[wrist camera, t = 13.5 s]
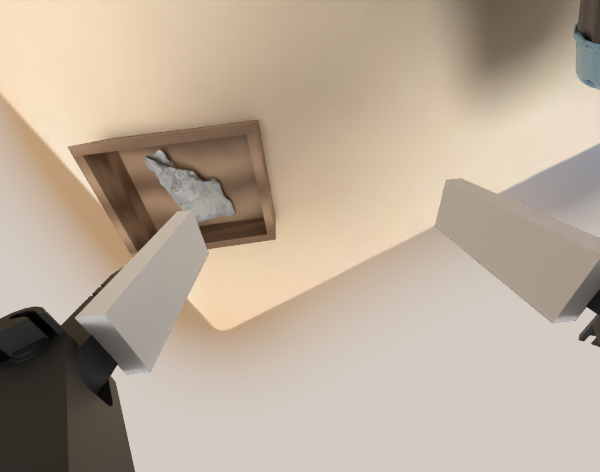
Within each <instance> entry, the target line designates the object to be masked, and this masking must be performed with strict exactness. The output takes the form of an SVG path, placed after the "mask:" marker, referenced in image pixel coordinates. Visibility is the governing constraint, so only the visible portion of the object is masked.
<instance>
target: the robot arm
mask: <svg viewBox="0 0 600 472" xmlns="http://www.w3.org/2000/svg"><path fill="white" fill-rule="evenodd" d="M574 38H575V39H576V73H577V76H578V78H579V79H580V80H581V81H582V82H583V83H584V84H586V85H588V86H589V87H592V88H597V89H599V90H600V0H580V9H579V19H578V23H577V24H576V25H575V28H574ZM435 227H436V228H437V229H438V230H439V231H441V232H442V233H443V234H444V235H445V236H447V237H448V238H449V239H450V240H451V241H453V242H454V243H455V244H456V245H458V246H459V247H460V248H461V249H463V250H464V251H465V252H466V253H467V254H469V255H470V256H471V257H472V258H473V259H475V260H476V261H477V262H478V263H479V264H481V265H482V266H483V267H484V268H486V269H487V270H488V271H489V272H490V273H492V274H493V275H494V276H495V277H496V278H498V279H499V280H500V281H501V282H503V283H504V284H505V285H506V286H508V287H509V288H510V289H511V290H512V291H514V292H515V293H516V294H517V295H519V296H520V297H521V298H522V299H523V300H524V301H526V302H527V303H528V304H529V305H531V306H532V307H533V308H534V309H536V310H537V311H538V312H539V313H540V314H541V315H543V316H544V317H545V318H546V319H548V320H549V321H550V322H551V323H560V322H568V321H576V320H577V318H578V317H579V316H580V314H581V313H582V312H583V311H584V310H585V308H586V307H588V308H589V309H591V310H592V311H594V312H595V313H597V315H596V316H595V318H594V319H593V320H592V321H591V322H590V323H589V325H588V326H587V327H586V328H585V329H584V330H583V331H582V333H581V334H580V335H579V340H581V341H585V339H587V337H588V336H590V335H592V336H596V339H595V340H594V341H593V342H592V343H591V344H593V345H596V346H599V347H600V238H598V237H596V236H594V235H591V234H589V233H587V232H585V231H582V230H580V229H578V228H575V227H573V226H571V225H568V224H566V223H564V222H561V221H559V220H557V219H554V218H552V217H549V216H547V215H545V214H543V213H540V212H538V211H536V210H533V209H531V208H529V207H526V206H524V205H521V204H519V203H517V202H514V201H512V200H510V199H508V198H505V197H503V196H500V195H498V194H496V193H494V192H491V191H489V190H487V189H484V188H482V187H480V186H477V185H475V184H473V183H470V182H468V181H466V180H463V179H461V178H459V179H450V180H446V182H445V186H444V190H443V194H442V198H441V203H440V207H439V211H438V215H437V219H436V223H435ZM208 254H209V253H208V250H207V248H206V245H205V242H204V240H203V237H202V234H201V232H200V229H199V226H198V224H197V221H196V218H195V216H194V213H193V210H186V211H177V212H176V213H175V214H174V215H173V217H172V218H171V219H170V220H169V221H168V222H167V223H166V224H165V225H164V226H163V227H162V228H161V229H160V230H159V231H158V232H157V233H156V234H155V235H154V236H153V237H152V238H151V239H150V240H149V241H148V242H147V243H146V245H145V246H144V247H143V248H142V249H141V250H140V251H139V252H138V253H137V254H136V255H135V256H134V257H133V258H132V259H131V260H130V261H129V262H128V263H127V264H126V265H125V266H124V267H123V268H121V269H120V270H118V271H117V272H115V273H114V274H112V275H111V276H110V277H109V278H108V279H107V280H106V281H105V282H104V283H103V284H102V285H101V287H99V288H98V289H97V290H96V291H95V292H94V293H93V296H90V297H89V298H88V299H87V300H86V301H85V302H84V303H83V304H82V305H81V306H80V307H79V308H78V309H77V310H76V311H75V312H74V313H73V314H72V315H71V316H70V317H69V318H68V319H67V320H66V321H65V322H64V323H63V324H62V325H61V326H60V325H59V324H58V323H57V322H56V321H55V320H54V319H53V318H52V317H51V316H50V315H49V314H48V313H47V312H46V311H45V310H44V309H43V308H42V307H30V308H25V309H22V310H19V311H16V312H14V313H11V314H9V315H7V316H5V317H3V318H1V319H0V472H135V470H134V466H133V461H132V456H131V451H130V447H129V442H128V437H127V433H126V428H125V424H124V419H123V414H122V410H121V405H120V400H119V396H118V391H117V387H116V383H115V381H114V379H113V378H112V377H111V374H112V372H113V371H114V369H115V368H116V366H117V365H118V366H119V367H120V368H121V369H122V370H123V371H124V372H125V373H126V374H127V375H130V374H139V373H146V372H151V370H152V368H153V366H154V364H155V362H156V360H157V358H158V356H159V354H160V352H161V350H162V347H163V346H164V344H165V342H166V340H167V338H168V335H169V333H170V331H171V329H172V327H173V325H174V323H175V321H176V319H177V317H178V315H179V313H180V311H181V309H182V307H183V305H184V303H185V301H186V299H187V297H188V295H189V293H190V291H191V289H192V287H193V285H194V283H195V280H196V278H197V276H198V274H199V272H200V270H201V268H202V266H203V264H204V262H205V260H206V258H207V256H208Z"/></svg>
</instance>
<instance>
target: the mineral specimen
mask: <svg viewBox="0 0 600 472" xmlns="http://www.w3.org/2000/svg"><path fill="white" fill-rule="evenodd" d="M144 161H145V164H146V166H147V167H148V168H149V169H150V170H151V171H152V172H154V173H155V174H156V176H157V178H158V179H159V181H160V184H161V185H163V186H164V187H165V189H166V190H167V191H168V193H169V194H170V195H171V197H172V198H173V199H174V202H175V204H178V206H179V207H180V208H181V210H182V211H186V210H193V213H194V216H195V218H196V221H197V224H199V223H203V222H204V221H205V220H208V219H211V218H215V217H218V216H227V217H228V216H234V215H235V210H234V209H233V204H232V203H231V201H229V200H228V199H227V198H226V197H225V196H224V195H223V192H222V190H221V188H220V184H219V183H218V182H217V181H216V178H210V180H208V181H204V180H201V179H200V178H199V177H198V176H197V175H196V174H195V173H194V172H193V171H189V170H184V169H183V170H182V169H177V168H176V167H175V164H174V163H173V162H172V161H170V160H168V159H167V158H166V155H165V154H164V153H163V152H162V151H160V150H157V152H156V153H155V154H153V155H149V156H145V157H144Z"/></svg>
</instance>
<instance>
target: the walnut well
mask: <svg viewBox="0 0 600 472" xmlns="http://www.w3.org/2000/svg"><path fill="white" fill-rule="evenodd" d="M68 149H69V150H70V152H71V154H72V155H73V157H74V159H75V161H76V162H77V164H78V166H79V167H80V169H81V171H82V172H83V174H84V176H85V177H86V179H87V181H88V183H89V184H90V186H91V188H92V189H93V191H94V193H95V194H96V196H97V198H98V199H99V201H100V203H101V205H102V206H103V208H104V210H105V211H106V213H107V215H108V216H109V218H110V220H111V221H112V223H113V225H114V226H115V228H116V230H117V231H118V233H119V235H120V237H121V238H122V240H123V242H124V243H125V245H126V247H127V249H128V250H129V252H130V253H131V255H132V257H134V256H135V255H136V254H137V253H138V252H139V251H140V250H141V249H142V248H143V247H144V246H145V245H146V243H147V242H148V241H149V240H150V239H151V238H152V237H153V236H154V235H155V234H156V233H157V232H158V231H159V230H160V229H161V228H162V227H163V226H164V225H165V224H166V223H167V222H168V221H169V220H170V219H171V218H172V217H173V215H174V214H175V213H176V212H177V211H182V210H181V208H180V207H179V206H178V204H175V202H174V199H173V198H172V197H171V195H170V194H169V193H168V191H167V190H166V189H165V187H164V186H163V185H161V184H160V181H159V179H158V178H157V176H156V174H155V173H154V172H152V171H151V170H150V169H149V168H148V167H147V166H146V164H145V161H144V157H145V156H149V155H153V154H155V153H156V152H157V150H160V151H162V152H163V153H164V154H165V155H166V158H167V159H168V160H170V161H172V162H173V163H174V164H175V167H176V168H177V169H182V170H183V169H184V170H189V171H193V172H194V173H195V174H196V175H197V176H198V177H199V178H200V179H201V180H204V181H208V180H210V178H216V181H217V182H218V183H219V184H220V188H221V190H222V192H223V195H224V196H225V197H226V198H227V199H228V200H229V201H231V203H232V204H233V209H234V210H235V215H234V216H228V217H227V216H218V217H215V218H211V219H208V220H205V221H204V222H203V223H199V224H198V226H199V229H200V232H201V234H202V237H203V240H204V242H205V245H206V248H207V249H212V248H219V247H226V246H233V245H240V244H247V243H254V242H261V241H268V240H275V239H276V228H275V214H274V208H273V203H272V197H271V191H270V186H269V180H268V175H267V169H266V164H265V158H264V153H263V147H262V142H261V136H260V131H259V125H258V120H255V121H247V122H239V123H231V124H223V125H215V126H207V127H199V128H191V129H184V130H176V131H168V132H160V133H152V134H144V135H136V136H128V137H121V138H113V139H106V140H101V141H96V142H90V143H85V144H80V145H75V146H69V147H68Z"/></svg>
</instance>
